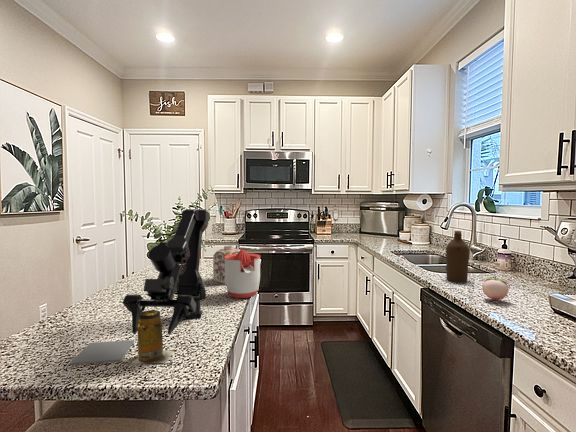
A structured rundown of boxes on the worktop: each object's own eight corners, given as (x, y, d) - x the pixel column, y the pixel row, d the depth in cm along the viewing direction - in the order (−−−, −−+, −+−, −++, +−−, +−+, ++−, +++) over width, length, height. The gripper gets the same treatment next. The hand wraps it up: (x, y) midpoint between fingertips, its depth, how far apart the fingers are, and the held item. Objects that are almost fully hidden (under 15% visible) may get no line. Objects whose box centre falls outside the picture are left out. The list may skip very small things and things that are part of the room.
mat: (90, 344, 97) (90, 342, 97) (134, 341, 99) (134, 340, 99) (69, 364, 85) (69, 363, 85) (120, 361, 87) (120, 359, 87)
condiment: (143, 351, 93) (142, 308, 92) (174, 351, 93) (173, 308, 92) (131, 364, 86) (130, 317, 85) (164, 364, 85) (163, 317, 85)
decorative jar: (212, 281, 170) (212, 245, 169) (230, 277, 179) (230, 243, 178) (228, 285, 162) (227, 248, 162) (246, 280, 171) (245, 245, 170)
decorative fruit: (482, 302, 135) (482, 277, 134) (481, 296, 142) (482, 273, 142) (510, 305, 131) (510, 280, 130) (507, 299, 138) (508, 275, 137)
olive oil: (473, 282, 167) (474, 231, 165) (454, 283, 165) (455, 232, 164) (459, 277, 177) (460, 229, 176) (440, 278, 175) (441, 230, 174)
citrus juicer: (230, 303, 134) (230, 253, 133) (220, 292, 150) (220, 247, 149) (267, 298, 141) (267, 251, 139) (254, 288, 156) (253, 245, 155)
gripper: (124, 265, 92) (102, 319, 82) (192, 265, 92) (178, 320, 81) (139, 286, 101) (120, 338, 90) (201, 287, 100) (189, 339, 89)
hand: (151, 333), depth 88 cm, fingers open, 9 cm apart
